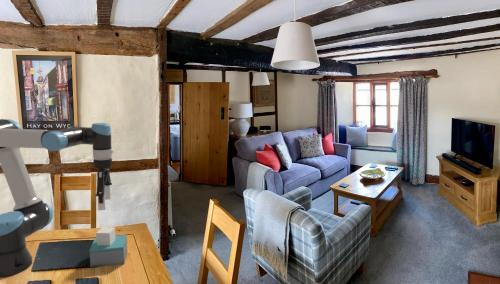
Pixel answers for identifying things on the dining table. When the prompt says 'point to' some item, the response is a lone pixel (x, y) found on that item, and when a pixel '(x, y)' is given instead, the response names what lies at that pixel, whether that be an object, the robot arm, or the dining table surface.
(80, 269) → the dining table surface
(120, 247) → the lid
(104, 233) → the light grey cube
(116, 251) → the box
